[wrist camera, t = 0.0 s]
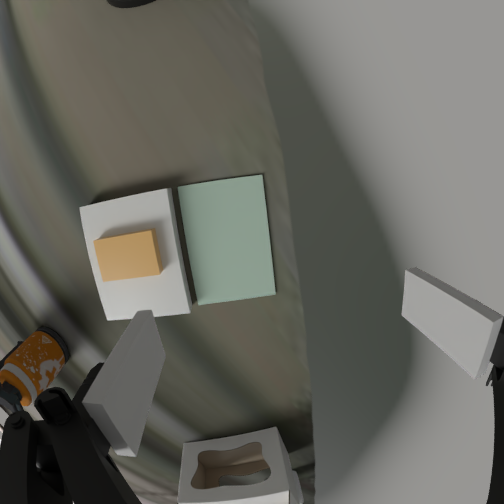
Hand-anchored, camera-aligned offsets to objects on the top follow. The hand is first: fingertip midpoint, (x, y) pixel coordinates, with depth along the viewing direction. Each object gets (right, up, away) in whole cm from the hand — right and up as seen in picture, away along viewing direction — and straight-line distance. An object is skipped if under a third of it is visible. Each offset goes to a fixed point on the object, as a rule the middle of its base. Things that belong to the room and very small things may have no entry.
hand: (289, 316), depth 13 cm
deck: (-19, +3, +27) cm, 33 cm away
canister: (-43, -15, +30) cm, 54 cm away
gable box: (-5, -43, +40) cm, 59 cm away
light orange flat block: (-19, +3, +24) cm, 30 cm away
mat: (-5, +5, +27) cm, 28 cm away
